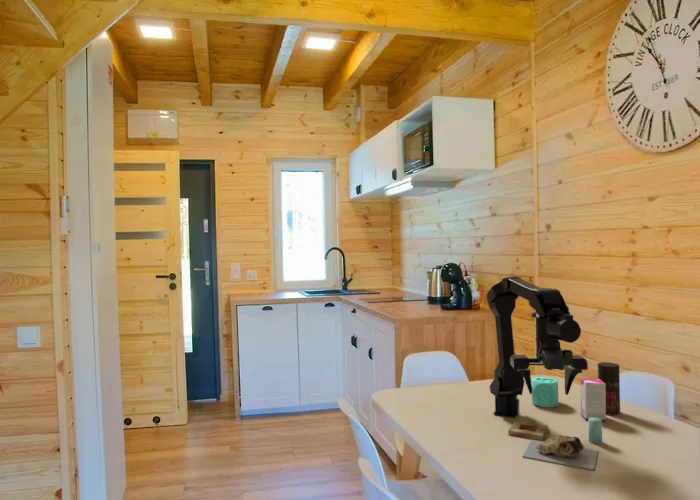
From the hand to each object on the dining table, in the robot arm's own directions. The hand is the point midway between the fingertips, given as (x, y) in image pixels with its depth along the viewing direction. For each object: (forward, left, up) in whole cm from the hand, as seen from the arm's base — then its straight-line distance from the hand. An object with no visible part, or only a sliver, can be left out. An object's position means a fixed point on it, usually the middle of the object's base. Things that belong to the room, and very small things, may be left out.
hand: (548, 394), depth 132 cm
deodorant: (+13, +34, -13) cm, 38 cm away
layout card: (+4, -7, -13) cm, 15 cm away
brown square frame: (-6, +5, -13) cm, 15 cm away
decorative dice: (-6, +34, -13) cm, 37 cm away
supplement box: (+9, +26, -13) cm, 30 cm away
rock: (+4, -7, -13) cm, 15 cm away
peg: (+11, +6, -13) cm, 18 cm away
